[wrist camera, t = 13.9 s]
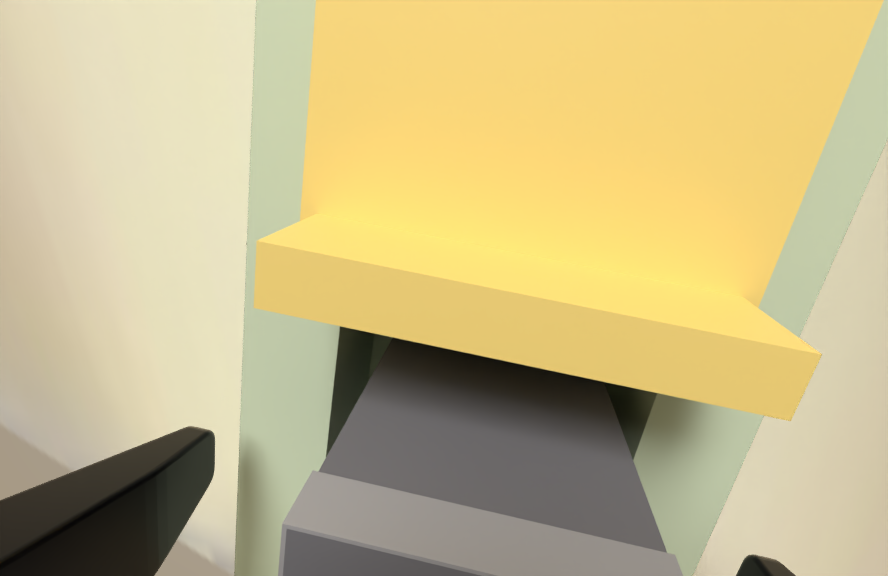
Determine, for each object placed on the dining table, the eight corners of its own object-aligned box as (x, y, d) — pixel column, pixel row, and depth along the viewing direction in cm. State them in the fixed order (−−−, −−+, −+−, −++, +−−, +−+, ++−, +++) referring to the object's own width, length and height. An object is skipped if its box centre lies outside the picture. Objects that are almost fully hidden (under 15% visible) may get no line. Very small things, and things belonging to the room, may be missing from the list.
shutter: (931, -200, 5) (1238, -438, 3) (722, 336, 7) (814, 426, 5) (355, -274, 6) (257, -531, 4) (312, 253, 8) (233, 303, 6)
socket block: (803, -12, 10) (995, -102, 6) (605, 540, 14) (641, 690, 10) (355, -81, 10) (263, -203, 6) (304, 470, 15) (234, 589, 11)
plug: (546, 476, 13) (586, 865, 6) (389, 441, 13) (262, 775, 6) (588, 331, 11) (702, 625, 5) (413, 295, 11) (282, 522, 5)
